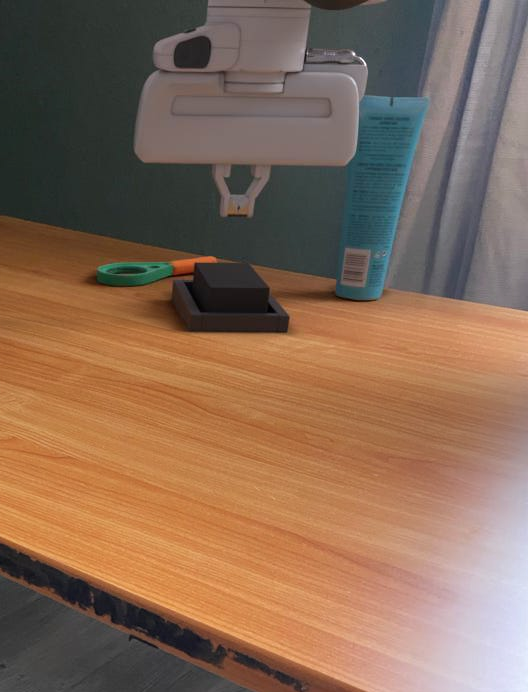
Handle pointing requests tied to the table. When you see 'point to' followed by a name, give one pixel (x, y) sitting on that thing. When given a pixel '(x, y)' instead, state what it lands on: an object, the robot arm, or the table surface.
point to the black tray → (227, 315)
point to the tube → (376, 191)
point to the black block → (229, 288)
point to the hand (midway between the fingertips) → (235, 216)
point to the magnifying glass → (146, 271)
